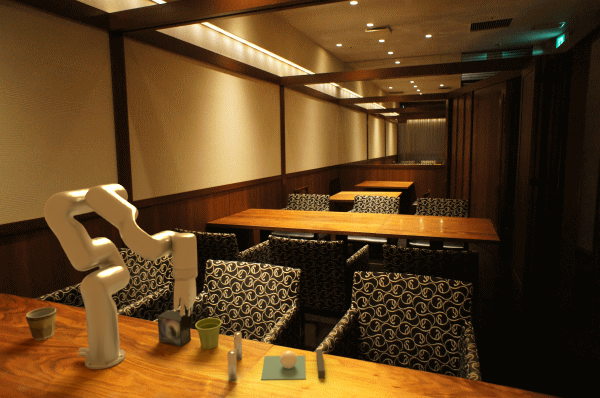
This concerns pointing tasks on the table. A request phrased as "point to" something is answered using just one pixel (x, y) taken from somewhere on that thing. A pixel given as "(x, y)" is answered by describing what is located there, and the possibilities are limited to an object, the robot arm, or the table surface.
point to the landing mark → (282, 369)
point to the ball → (288, 359)
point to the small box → (172, 329)
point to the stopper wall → (320, 364)
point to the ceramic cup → (41, 322)
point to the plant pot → (208, 332)
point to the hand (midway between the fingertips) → (187, 326)
